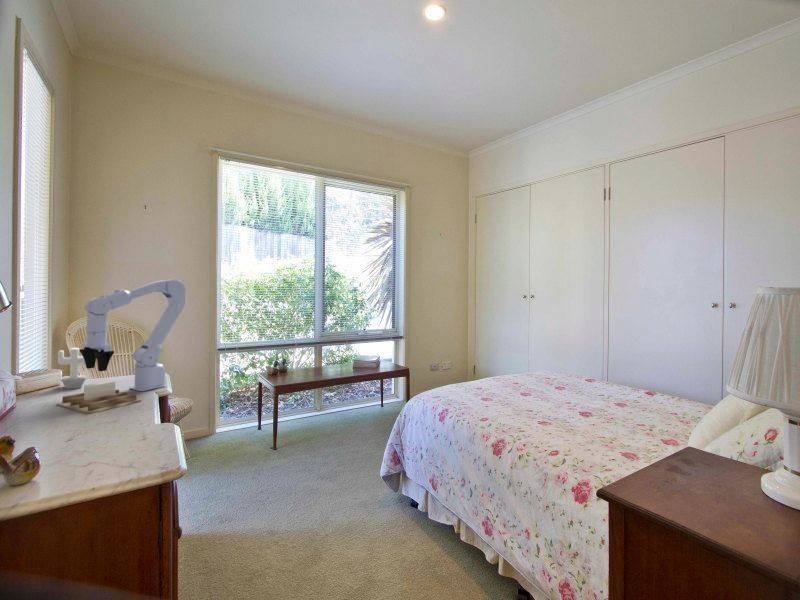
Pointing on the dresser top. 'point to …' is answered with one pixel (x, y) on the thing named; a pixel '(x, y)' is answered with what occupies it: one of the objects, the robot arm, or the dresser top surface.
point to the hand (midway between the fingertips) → (96, 369)
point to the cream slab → (99, 390)
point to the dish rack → (97, 402)
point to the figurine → (72, 368)
